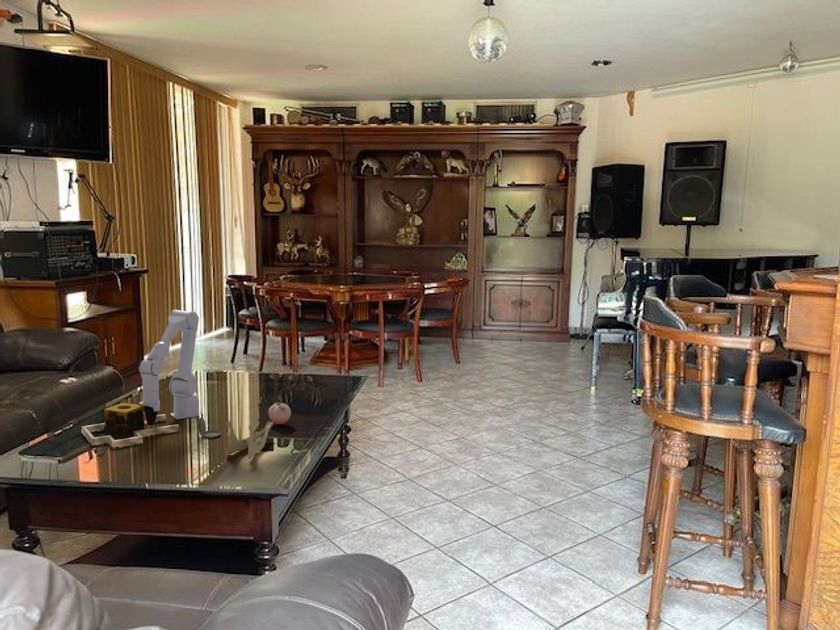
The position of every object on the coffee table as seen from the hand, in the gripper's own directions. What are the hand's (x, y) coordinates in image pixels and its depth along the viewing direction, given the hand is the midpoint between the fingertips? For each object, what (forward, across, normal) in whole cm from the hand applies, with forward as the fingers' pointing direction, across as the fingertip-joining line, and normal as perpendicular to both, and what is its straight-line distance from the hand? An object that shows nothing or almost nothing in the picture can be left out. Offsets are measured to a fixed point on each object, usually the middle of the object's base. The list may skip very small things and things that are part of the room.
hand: (151, 424), depth 234 cm
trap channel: (+2, 0, -7) cm, 7 cm away
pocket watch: (+2, +19, +15) cm, 24 cm away
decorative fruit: (+2, +21, +44) cm, 49 cm away
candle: (+2, 0, -9) cm, 10 cm away
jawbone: (+2, +40, +24) cm, 47 cm away
